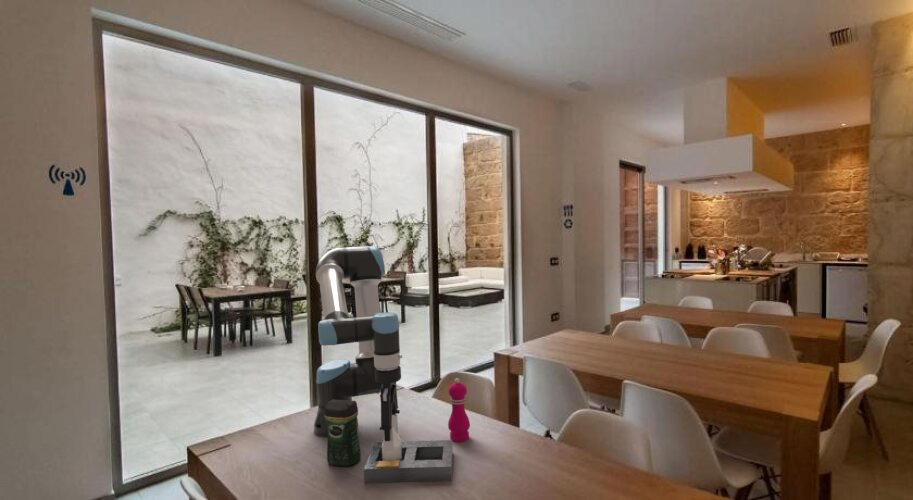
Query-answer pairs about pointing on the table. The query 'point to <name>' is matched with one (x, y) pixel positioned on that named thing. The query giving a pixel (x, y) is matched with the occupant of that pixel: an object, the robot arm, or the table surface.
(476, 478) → the table surface
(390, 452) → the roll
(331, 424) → the coffee jar
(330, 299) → the robot arm
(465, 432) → the pepper mill
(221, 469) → the table surface
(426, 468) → the hole plate
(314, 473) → the table surface
